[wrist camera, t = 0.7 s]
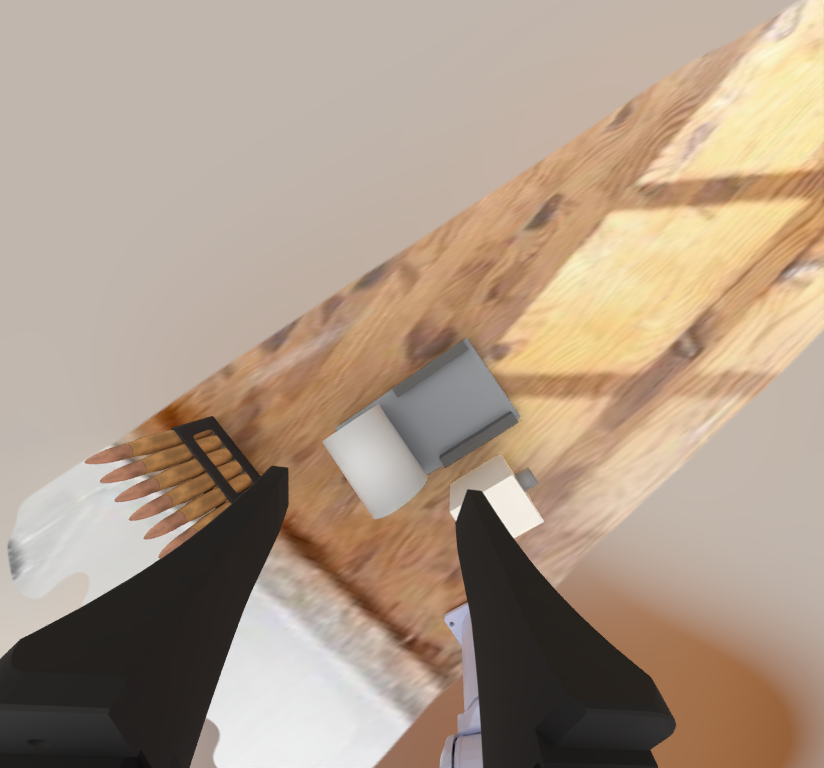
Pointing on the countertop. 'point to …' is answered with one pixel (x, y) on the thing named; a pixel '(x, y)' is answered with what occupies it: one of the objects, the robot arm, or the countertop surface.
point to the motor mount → (420, 429)
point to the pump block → (500, 494)
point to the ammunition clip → (182, 475)
